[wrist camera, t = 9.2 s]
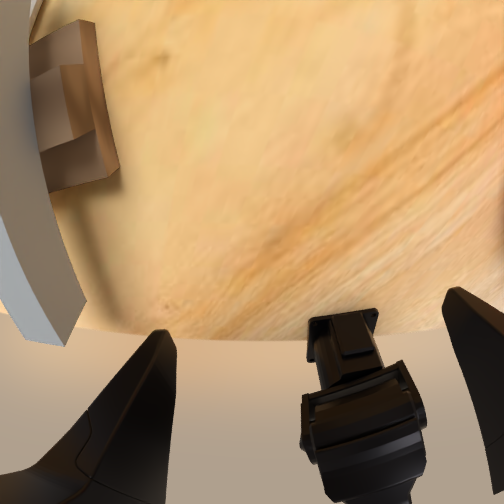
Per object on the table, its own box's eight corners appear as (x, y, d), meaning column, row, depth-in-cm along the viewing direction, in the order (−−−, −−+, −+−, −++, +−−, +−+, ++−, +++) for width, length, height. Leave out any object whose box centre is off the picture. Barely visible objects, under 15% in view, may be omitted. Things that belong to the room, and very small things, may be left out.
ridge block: (120, 166, 17) (89, 194, 13) (34, 190, 17) (-1, 219, 13) (94, 23, 11) (54, 14, 7) (6, 70, 11) (-36, 79, 8)
